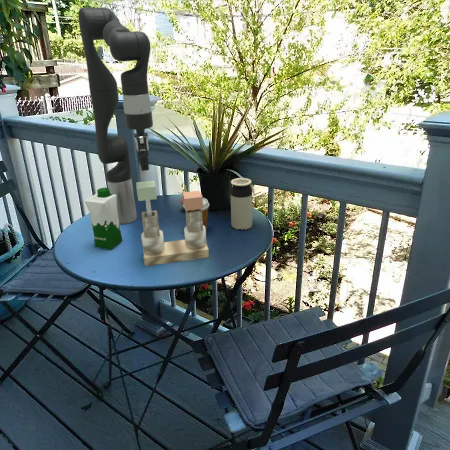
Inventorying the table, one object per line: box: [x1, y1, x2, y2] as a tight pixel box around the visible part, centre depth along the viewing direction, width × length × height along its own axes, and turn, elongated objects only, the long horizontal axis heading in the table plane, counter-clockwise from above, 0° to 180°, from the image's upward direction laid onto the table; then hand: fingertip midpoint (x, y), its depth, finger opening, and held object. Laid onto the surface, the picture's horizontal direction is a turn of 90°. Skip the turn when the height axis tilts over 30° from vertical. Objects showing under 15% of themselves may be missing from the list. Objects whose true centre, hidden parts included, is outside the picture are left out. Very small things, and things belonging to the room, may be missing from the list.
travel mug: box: [230, 177, 253, 230], centre depth 149 cm, size 8×8×18 cm
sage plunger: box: [135, 180, 158, 216], centre depth 125 cm, size 6×6×11 cm
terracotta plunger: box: [182, 190, 204, 211], centre depth 129 cm, size 6×6×11 cm
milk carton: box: [84, 187, 123, 251], centre depth 139 cm, size 9×9×20 cm
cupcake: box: [179, 184, 188, 206], centre depth 165 cm, size 9×8×12 cm
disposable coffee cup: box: [182, 197, 210, 230], centre depth 148 cm, size 10×10×12 cm
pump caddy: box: [140, 209, 210, 267], centre depth 131 cm, size 21×9×16 cm, turn 102°
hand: (144, 165), depth 120 cm, fingers open, 8 cm apart
